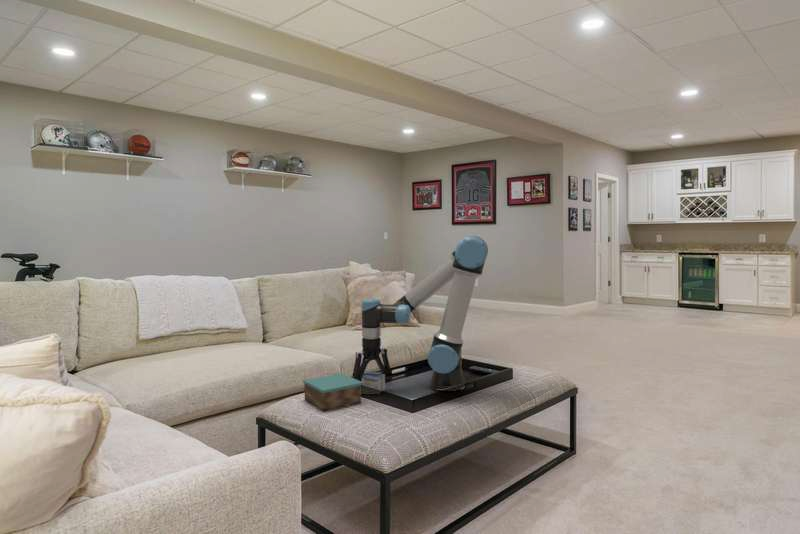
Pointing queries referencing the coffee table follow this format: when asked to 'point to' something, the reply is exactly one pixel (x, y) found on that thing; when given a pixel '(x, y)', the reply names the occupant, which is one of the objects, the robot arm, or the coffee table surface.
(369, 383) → the medicine box
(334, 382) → the lid
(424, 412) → the coffee table surface
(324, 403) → the crate
